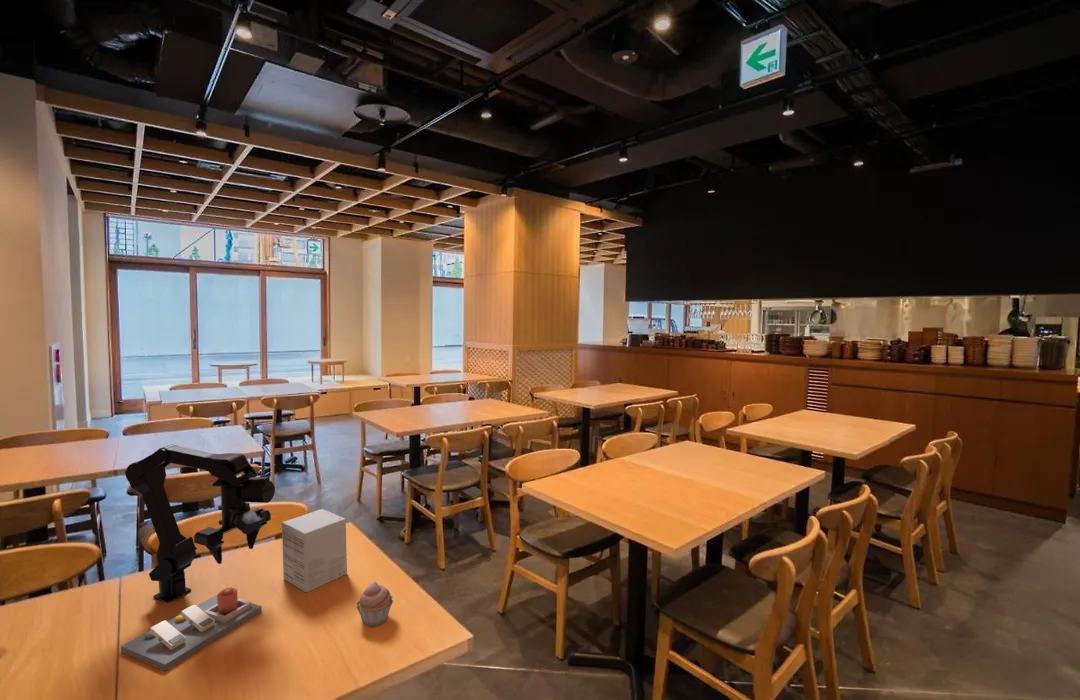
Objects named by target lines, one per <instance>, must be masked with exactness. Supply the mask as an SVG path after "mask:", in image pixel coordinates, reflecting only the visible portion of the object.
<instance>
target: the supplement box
mask: <svg viewBox="0 0 1080 700" xmlns="http://www.w3.org/2000/svg"><path fill="white" fill-rule="evenodd" d="M281 535H282V539H281V540H282V542H281V543H282V569H283V571H282V573H283V574H282V575H283V579H284V580H285V581H287V582H288V583H289V584H291V585H293V586H295V587H296V588H298V589H300V590H301V591H302V592H304V593H308V592H311V591H313V590H316V589H317V588H320V587H321V586H324V585H326V584H328V583H330V582H332V581H335V580H337V579H338V578H341V577H343V576H345V575H347V574H348V563H347V562H348V558H347V557H348V553H347V550H348V549H347V519H346V517H345V518H344V516H343V517H342V516H340V515H338V514H335V513H333V512H330V511H328V510H326V509H323V508H321V509H316V510H315V511H311V512H309V513H306V514H303V515H300V516H297V517H294V518H292V519H287V520H285V521H282V522H281Z"/></svg>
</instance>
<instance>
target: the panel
mask: <svg viewBox="0 0 1080 700" xmlns="http://www.w3.org/2000/svg"><path fill="white" fill-rule="evenodd" d="M217 595H218V593H217V594H216V595H214V596H211V597H210V598H208V599H206V600H205V601H202V602H201V603H199V604H197V605H196V606H197V607H199V608H200V609H201V610H202V611H204V612H206V613H207V615H209V616H210V617H211V618H212V619H214V620H215V625H214V626H212V627H210V628H208V629H207V630H205V631H203V632H200V631H199V630H198V629H197V628H196V627H194V626H193V625H192V624H190V623H189V622H188V621H187V620H186V619H185V618H183V617H182V616H181V613H180V614H178V615H176V616H175V617H173V618H170V619H168V620H166V621H167V622H168V623H169V624H171V625H172V626H173V627H174V628H177V629H178V631H179V632H180V633H181V634H183V635H184V636H185V637H186V642H184V643H183V644H181V645H179V646H177V647H176V648H174V649H172V650H170V649H169V648H168V647H167V646H166V645H164V644H163V643H162V642H161V641H158V639H157V638H156V637H155V636H154V635H153V634H152V633H150V630H148V631H146V632H144V633H143V634H140V635H139V636H137V637H134V638H133V639H131V640H129V641H127V642H126V643H123V644H122V645H120V652H121V653H123V654H124V655H127V656H130V657H131V658H134V659H137V660H139V661H141V662H143V663H146V664H148V665H150V666H153V667H155V668H157V669H159V670H162V671H164V672H166V671H168V670H169V669H170V668H173V667H174V666H177V664H179V663H180V662H182V661H184V660H186V659H187V658H189V657H190V656H193V655H194V654H195V653H197V652H199V651H200V650H202V649H203V648H205V647H207V646H208V645H209V644H211V643H213V642H215V641H216V640H218V639H219V638H221V637H223V636H224V635H226V634H228V633H229V632H231V631H232V630H234V629H236V628H238V627H240V626H241V625H242V624H244V623H246V622H247V621H249V620H251V619H252V618H254V617H255V616H257V615H259V614H260V613H262V609H263V607H262V605H259V604H257V603H253V602H252V601H248V600H245V599H243V598H239V597H238V608H237V609H236V610H234V611H232V612H231V613H229V614H227V615H225V616H223V615H221V614H218V600H217Z"/></svg>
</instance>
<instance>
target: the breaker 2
mask: <svg viewBox="0 0 1080 700" xmlns="http://www.w3.org/2000/svg"><path fill="white" fill-rule="evenodd" d="M180 614H181V616H182V617H183V618H185V619H186V620H187V621H188V622H189V623H190V624H192V625H193V626H194V627H196V628H197V629H198V630H199V631H200V632H203V631H205V630H207V629H208V628H210V627H212V626H214V625H215V620H214V619H212V618H211V617H210V616H209V615H207V613H206V612H204V611H202V610H201V609H200V608H199V607H197V605H196V604H192V605H191V606H188V607H186V608H185V609H183V610H181V611H180Z"/></svg>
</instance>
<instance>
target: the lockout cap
mask: <svg viewBox="0 0 1080 700" xmlns="http://www.w3.org/2000/svg"><path fill="white" fill-rule="evenodd" d="M217 594H218V595H217ZM217 594H216V595H217V600H218V614H221V615H223V616H225V615H227V614H229V613H231V612H232V611H234V610H236V609H237V608H238V598H239V597H238V588H235V587H225V588H224V589H222V590H220V591H219V592H218V593H217Z"/></svg>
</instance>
